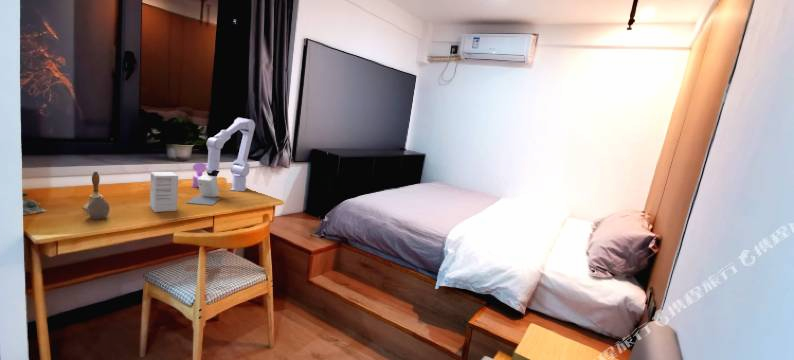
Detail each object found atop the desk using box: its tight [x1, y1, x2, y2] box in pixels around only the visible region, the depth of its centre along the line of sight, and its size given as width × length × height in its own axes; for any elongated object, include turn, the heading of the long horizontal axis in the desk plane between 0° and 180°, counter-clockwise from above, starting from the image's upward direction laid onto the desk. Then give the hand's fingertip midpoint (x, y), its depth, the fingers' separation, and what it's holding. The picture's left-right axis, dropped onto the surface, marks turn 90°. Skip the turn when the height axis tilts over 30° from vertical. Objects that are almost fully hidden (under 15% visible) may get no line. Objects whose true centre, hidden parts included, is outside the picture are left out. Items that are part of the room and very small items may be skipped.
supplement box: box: [149, 171, 179, 213], centre depth 162 cm, size 10×9×17 cm
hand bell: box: [82, 171, 104, 210], centre depth 151 cm, size 8×8×16 cm
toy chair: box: [190, 162, 208, 188], centre depth 205 cm, size 8×9×15 cm
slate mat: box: [186, 195, 221, 206], centre depth 184 cm, size 14×12×1 cm
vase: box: [86, 196, 111, 220], centre depth 141 cm, size 7×7×9 cm
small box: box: [197, 174, 220, 198], centre depth 192 cm, size 8×6×10 cm
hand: (212, 183), depth 195 cm, fingers closed
